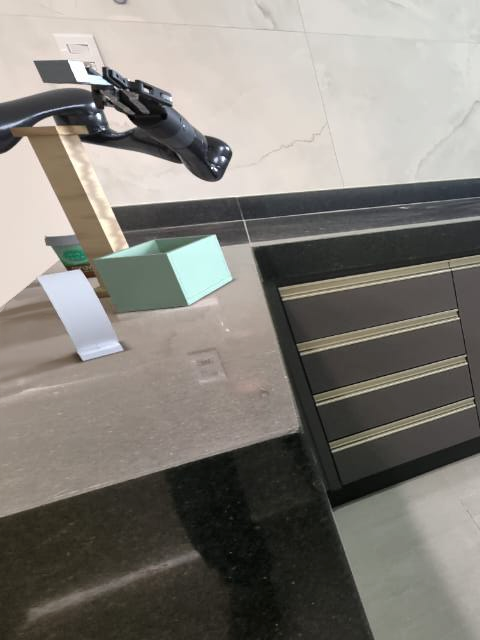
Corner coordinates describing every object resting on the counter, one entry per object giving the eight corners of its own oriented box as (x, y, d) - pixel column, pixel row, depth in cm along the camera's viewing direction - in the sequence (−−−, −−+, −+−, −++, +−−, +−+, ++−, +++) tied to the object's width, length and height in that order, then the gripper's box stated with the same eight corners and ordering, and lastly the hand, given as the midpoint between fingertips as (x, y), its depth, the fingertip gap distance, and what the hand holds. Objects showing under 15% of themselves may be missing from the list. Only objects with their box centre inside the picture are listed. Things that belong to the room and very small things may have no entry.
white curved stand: (117, 343, 83) (80, 269, 78) (125, 352, 80) (87, 274, 75) (77, 353, 80) (35, 276, 75) (83, 362, 76) (40, 282, 71)
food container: (55, 283, 121) (32, 239, 117) (64, 277, 126) (42, 235, 121) (125, 273, 127) (105, 231, 122) (131, 268, 131) (112, 227, 127)
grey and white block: (101, 86, 99) (93, 67, 98) (130, 86, 100) (123, 66, 99) (43, 82, 87) (32, 60, 85) (77, 81, 88) (67, 59, 86)
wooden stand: (113, 286, 116) (37, 127, 102) (160, 282, 117) (91, 125, 104) (84, 298, 108) (-3, 128, 94) (135, 293, 109) (57, 125, 96)
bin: (188, 305, 100) (166, 253, 96) (117, 312, 98) (91, 259, 94) (232, 279, 117) (215, 234, 112) (173, 285, 114) (153, 239, 110)
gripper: (123, 107, 111) (48, 52, 94) (198, 104, 114) (138, 51, 97) (126, 141, 110) (51, 92, 94) (201, 137, 113) (142, 89, 96)
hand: (96, 71), depth 95 cm, fingers closed on grey and white block, 2 cm apart
